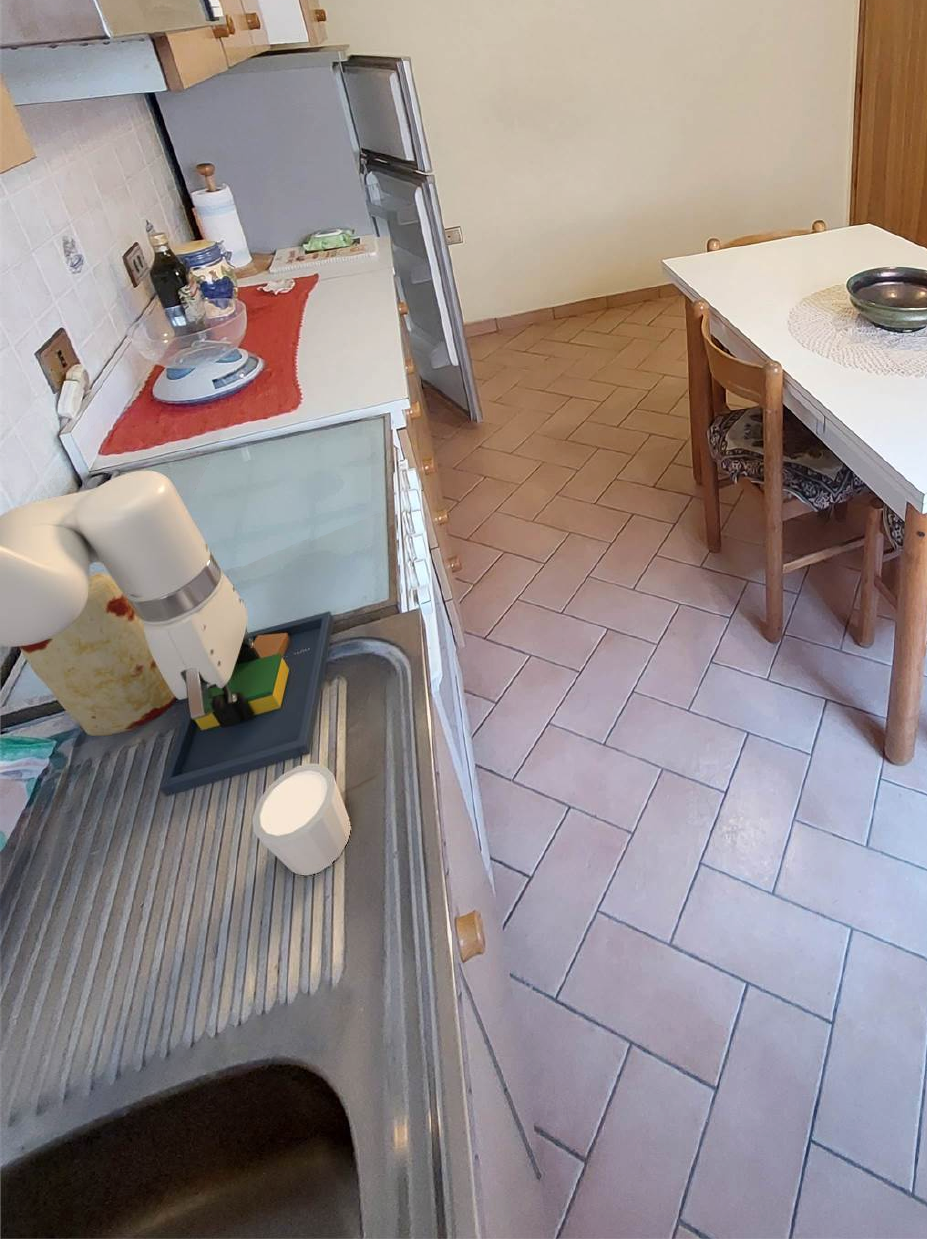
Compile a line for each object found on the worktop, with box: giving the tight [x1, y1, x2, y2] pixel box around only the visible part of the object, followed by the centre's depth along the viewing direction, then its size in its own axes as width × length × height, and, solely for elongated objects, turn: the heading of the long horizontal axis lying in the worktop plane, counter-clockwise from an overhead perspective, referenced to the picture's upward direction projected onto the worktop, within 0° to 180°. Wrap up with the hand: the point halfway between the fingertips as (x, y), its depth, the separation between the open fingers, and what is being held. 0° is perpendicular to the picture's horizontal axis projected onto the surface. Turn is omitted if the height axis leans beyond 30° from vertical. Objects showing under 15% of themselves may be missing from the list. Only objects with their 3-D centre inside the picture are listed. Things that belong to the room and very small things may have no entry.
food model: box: [18, 572, 177, 737], centre depth 77 cm, size 10×7×20 cm
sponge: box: [194, 653, 289, 730], centre depth 80 cm, size 8×5×3 cm, turn 105°
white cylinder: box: [251, 762, 352, 875], centre depth 66 cm, size 7×7×7 cm
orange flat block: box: [251, 633, 291, 658], centre depth 86 cm, size 4×4×2 cm
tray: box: [159, 611, 335, 797], centre depth 81 cm, size 14×18×2 cm
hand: (244, 696), depth 81 cm, fingers closed on sponge, 5 cm apart
